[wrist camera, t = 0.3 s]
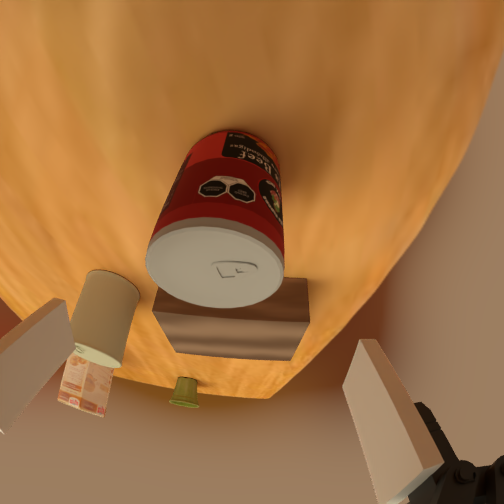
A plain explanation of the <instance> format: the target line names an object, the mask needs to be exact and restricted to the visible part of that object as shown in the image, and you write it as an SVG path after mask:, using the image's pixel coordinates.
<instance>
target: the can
mask: <svg viewBox="0 0 504 504" xmlns="http://www.w3.org/2000/svg"><path fill="white" fill-rule="evenodd" d="M139 299H140V294H139V291H138V290H137V288H136V287H135V286H134V285H133V284H132V283H131V282H130V281H128V280H127V279H125V278H124V277H122V276H120V275H118V274H115V273H113V272H109V271H105V270H94V271H91V272H89V273H88V274H87V277H86V281H85V284H84V287H83V289H82V292H81V294H80V297H79V299H78V302H77V305H76V307H75V310H74V313H73V315H72V318H71V321H70V326H71V330H72V334H73V338H74V342H75V346H76V349H75V350H74V351H73V353H74V354H76V355H77V356H79V357H81V358H83V359H85V360H88V361H90V362H93V363H96V364H99V365H102V366H106V367H111V368H120V367H121V366H122V359H123V355H124V350H125V346H126V342H127V338H128V334H129V330H130V326H131V322H132V319H133V315H134V312H135V309H136V306H137V303H138V301H139Z"/></svg>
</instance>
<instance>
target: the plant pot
mask: <svg viewBox="0 0 504 504" xmlns="http://www.w3.org/2000/svg"><path fill="white" fill-rule="evenodd" d="M169 402H171V403H173V404H176V405H181V406H186V407H199V405H198V401H197V381H196V380H195V379H192V378H184V377H179V378H178V380H177V383H176V387H175V390H174V393H173V396H172V397H171V400H170V401H169Z"/></svg>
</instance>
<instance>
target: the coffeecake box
mask: <svg viewBox="0 0 504 504" xmlns="http://www.w3.org/2000/svg"><path fill="white" fill-rule="evenodd" d="M113 372H114V368H111V367H106V366H102V365H99V364H96V363H93V362H90V361H88V360H85V359H83V358H81V357H79V356H77V355H76V354H74V353H72V354H71V355H70V356H69V357H68V359H67V363H66V366H65V370H64V374H63V378H62V382H61V386H60V391H59V395H58V401H60V402H62V403H64V404H67V405H69V406H72V407H74V408H77V409H80V410H83V411H85V412H88V413H91V414H94V415H97V416H101V417H105V411H106V406H107V400H108V395H109V391H110V385H111V381H112V376H113Z"/></svg>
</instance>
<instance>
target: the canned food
mask: <svg viewBox="0 0 504 504" xmlns="http://www.w3.org/2000/svg"><path fill="white" fill-rule="evenodd" d="M145 260H146V268H147V271H148V273H149V275H150V276H151V278H152V279H153V281H154V282H155V283H156V284H157V285H158V286H159V287H160V288H162V289H163V290H165V291H166V292H167V293H169V294H171V295H173V296H174V297H176V298H178V299H181V300H183V301H186V302H189V303H192V304H196V305H200V306H206V307H213V308H236V307H244V306H248V305H252V304H255V303H258V302H260V301H263V300H265V299H266V298H268V297H270V296H271V295H272V294H273V293H275V292H276V291H277V290H278V288H279V287H280V285H281V283H282V280H283V277H284V268H285V267H284V233H283V214H282V197H281V181H280V167H279V163H278V160H277V158H276V156H275V155H274V153H273V151H272V150H271V149H270V148H269V147H268V146H267V145H266V144H265V143H264V142H263V141H262V140H260V139H259V138H257V137H256V136H253V135H251V134H249V133H245V132H240V131H222V132H217V133H214V134H211V135H209V136H207V137H206V138H204V139H202V140H201V141H199V142H198V143H197V144H196V145H194V146H193V147H192V148H191V150H190V151H189V153H188V154H187V156H186V158H185V160H184V162H183V164H182V166H181V168H180V170H179V173H178V175H177V177H176V179H175V181H174V183H173V186H172V188H171V190H170V192H169V195H168V197H167V199H166V201H165V204H164V206H163V208H162V211H161V213H160V216H159V218H158V220H157V223H156V225H155V228H154V231H153V234H152V237H151V239H150V242H149V245H148V249H147V254H146V258H145Z"/></svg>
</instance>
